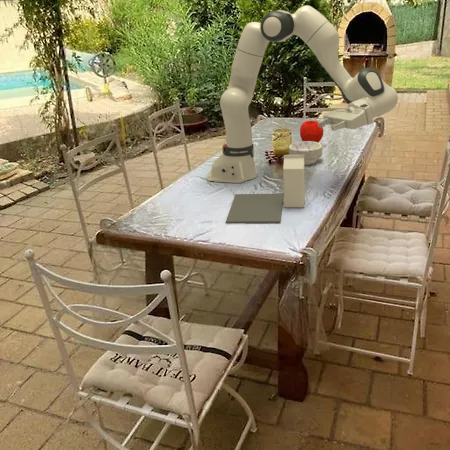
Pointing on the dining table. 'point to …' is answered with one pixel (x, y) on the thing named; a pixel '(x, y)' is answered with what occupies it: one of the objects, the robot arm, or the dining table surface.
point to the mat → (256, 208)
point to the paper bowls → (307, 151)
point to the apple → (311, 131)
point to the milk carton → (294, 180)
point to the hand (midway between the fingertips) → (325, 127)
